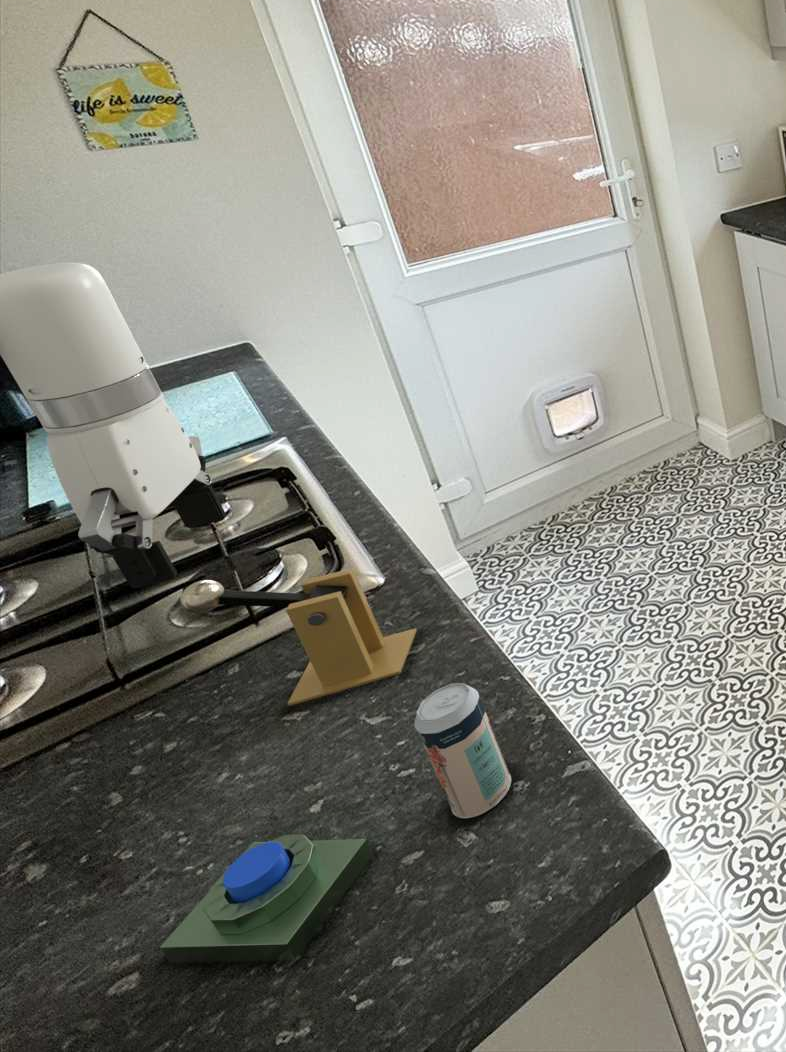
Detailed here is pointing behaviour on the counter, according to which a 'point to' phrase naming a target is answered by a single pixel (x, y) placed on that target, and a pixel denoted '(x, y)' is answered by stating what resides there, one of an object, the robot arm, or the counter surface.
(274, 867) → the light button
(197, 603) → the black silver long piece
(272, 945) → the button box
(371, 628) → the bracket
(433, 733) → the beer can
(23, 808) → the counter surface
